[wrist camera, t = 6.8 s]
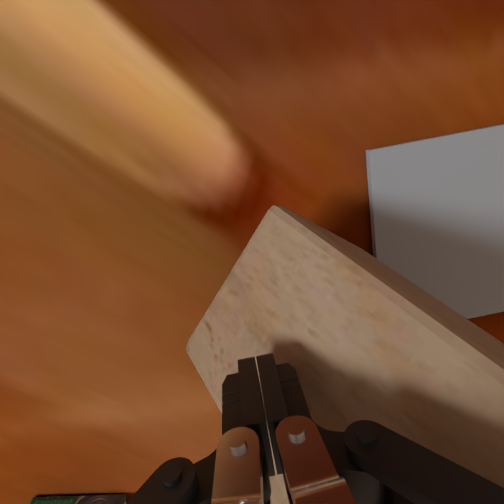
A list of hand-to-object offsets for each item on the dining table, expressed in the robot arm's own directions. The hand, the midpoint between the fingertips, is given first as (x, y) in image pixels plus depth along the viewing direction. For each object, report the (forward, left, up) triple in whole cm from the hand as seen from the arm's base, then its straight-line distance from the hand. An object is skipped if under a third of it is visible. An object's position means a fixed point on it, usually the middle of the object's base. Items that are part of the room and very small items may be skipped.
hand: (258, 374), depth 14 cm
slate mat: (0, +20, -11) cm, 23 cm away
